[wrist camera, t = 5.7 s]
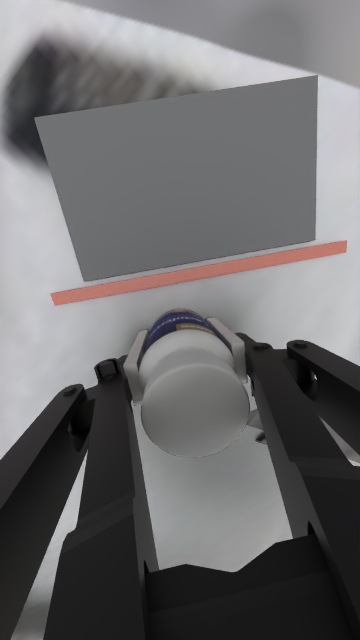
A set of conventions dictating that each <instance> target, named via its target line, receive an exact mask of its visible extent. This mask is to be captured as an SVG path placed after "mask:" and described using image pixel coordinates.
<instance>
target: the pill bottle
mask: <svg viewBox="0 0 360 640" xmlns="http://www.w3.org/2000/svg"><path fill="white" fill-rule="evenodd" d="M139 385H140V390H141V393H142V395H143V400H142V406H141V420H142V424H143V427H144V430H145V432H146V434H147V435H148V437H149V438H150V439H151V440H152V442H154V443H155V444H156V445H157V446H158V447H159V448H161V449H162V450H164V451H166V452H168V453H170V454H172V455H175V456H180V457H187V458H198V457H205V456H209V455H212V454H215V453H217V452H219V451H221V450H223V449H225V448H227V447H228V446H229V445H231V444H232V443H233V442H234V441H235V440H236V439H237V438H238V437H239V436H240V435H241V433H242V432H243V430H244V428H245V426H246V424H247V421H248V418H249V412H250V403H249V397H248V394H247V392H246V389H245V387H244V386H243V384H242V382H241V381H240V379H239V378H238V376H237V372H236V365H235V361H234V358H233V356H232V354H231V352H230V350H229V349H228V348H227V346H226V345H225V344H224V342H223V341H222V340H221V339H220V338H219V337H218V335H217V334H216V333H215V332H214V331H213V330H212V328H211V327H210V326H209V325H208V324H207V322H206V321H205V320H204V319H203V318H202V317H201V316H200V315H198V314H197V313H195V312H193V311H190V310H185V309H176V310H172V311H169V312H167V313H165V314H163V315H162V316H160V317H159V318H158V319H157V320H156V322H155V323H154V325H153V327H152V329H151V332H150V335H149V338H148V341H147V344H146V348H145V351H144V354H143V357H142V361H141V364H140V369H139Z"/></svg>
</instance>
